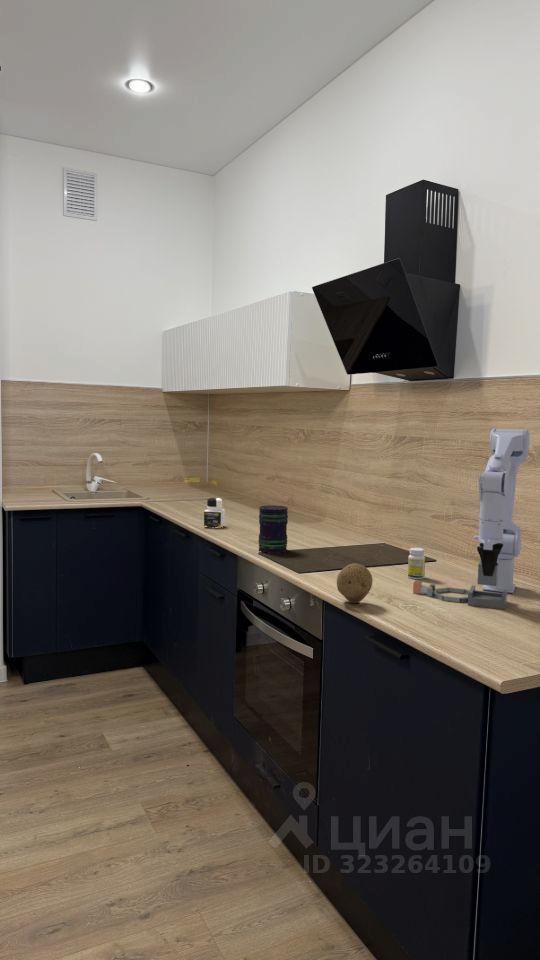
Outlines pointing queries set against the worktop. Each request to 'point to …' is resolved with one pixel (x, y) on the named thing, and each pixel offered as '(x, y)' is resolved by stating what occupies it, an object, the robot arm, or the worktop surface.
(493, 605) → the rack
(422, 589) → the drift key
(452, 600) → the socket
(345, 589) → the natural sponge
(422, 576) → the supplement bottle
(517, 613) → the worktop surface
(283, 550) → the storage jar
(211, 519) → the medicine bottle
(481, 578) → the gold-capped square jar
